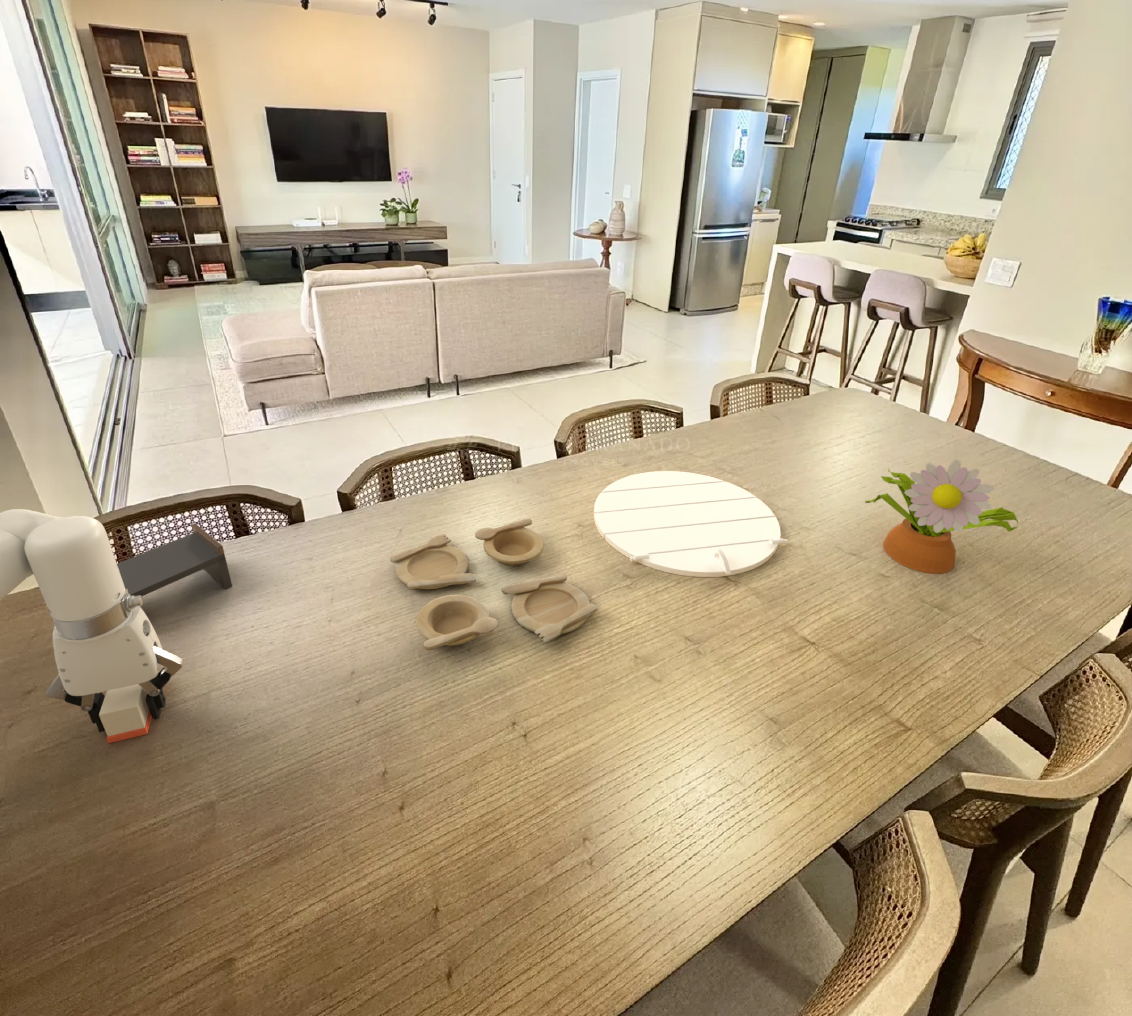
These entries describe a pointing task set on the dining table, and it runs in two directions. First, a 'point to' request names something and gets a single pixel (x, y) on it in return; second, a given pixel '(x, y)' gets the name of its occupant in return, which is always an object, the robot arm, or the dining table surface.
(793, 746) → the dining table surface
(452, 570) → the tableware set
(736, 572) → the lazy susan
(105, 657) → the robot arm
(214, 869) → the dining table surface
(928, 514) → the decorative plant
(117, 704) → the orange-based notched block
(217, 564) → the shoe shelf
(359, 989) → the dining table surface
